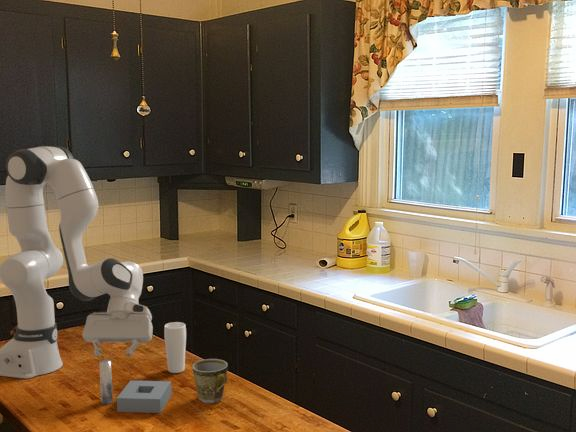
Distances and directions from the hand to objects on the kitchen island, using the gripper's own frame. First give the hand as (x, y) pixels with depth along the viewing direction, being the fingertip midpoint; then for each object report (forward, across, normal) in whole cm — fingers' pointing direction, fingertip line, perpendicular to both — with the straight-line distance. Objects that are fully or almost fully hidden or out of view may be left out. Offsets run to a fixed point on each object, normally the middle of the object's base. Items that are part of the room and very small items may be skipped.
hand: (113, 354), depth 186 cm
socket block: (+12, +10, +5) cm, 17 cm away
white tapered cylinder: (-4, +14, +22) cm, 26 cm away
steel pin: (+12, 0, +4) cm, 13 cm away
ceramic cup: (+11, +30, +7) cm, 32 cm away
